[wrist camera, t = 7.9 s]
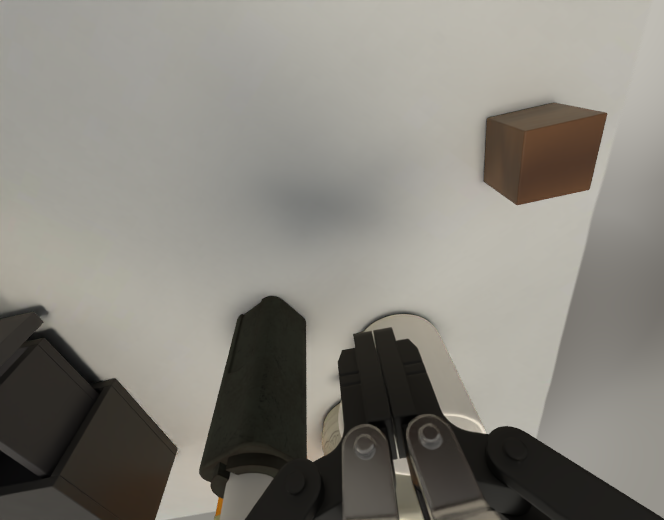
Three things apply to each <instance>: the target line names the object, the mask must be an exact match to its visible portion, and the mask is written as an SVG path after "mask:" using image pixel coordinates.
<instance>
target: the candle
mask: <svg viewBox="0 0 664 520" xmlns="http://www.w3.org/2000/svg"><path fill="white" fill-rule="evenodd" d="M298 458H304V459H307V425H306V321H305V319H304V318H303V317H302V316H301V315H300V314H298V313H297V312H296V311H295V310H294V309H292V308H291V307H290V306H289V305H288V304H287V303H285V302H284V301H283V300H282V299H280V298H278V297H274V296H270V297H266V298H264V299H262V302H261V303H260V304H258V305H257V306H256V307H254V308H253V309H252V310H250V311H249V312H247V313H246V314H245V315H243V314H242V315H240V316H239V317H238V319H237V323H236V327H235V331H234V335H233V339H232V343H231V347H230V351H229V355H228V359H227V362H226V366H225V370H224V374H223V378H222V382H221V386H220V390H219V394H218V398H217V402H216V406H215V410H214V414H213V418H212V422H211V426H210V429H209V433H208V437H207V441H206V445H205V449H204V453H203V457H202V461H201V465H200V469H199V474H200V476H201V477H202V478H203V479H205V480H206V481H209V482H211V489H212V491H213V493H215V494H216V495H217V496H218V497H220V498H222V499H223V504H222V509H221V515H220V520H245V518H246V517H247V515H248V514H249V513H250V511H251V510H252V508H253V507H254V505H255V504H256V503H257V501H258V500H259V498H260V497H261V496H262V494H263V493H264V491H265V490H266V488H267V487H268V486H269V484H270V483H271V481H272V480H273V479H274V477H275V476H276V474H277V473H278V471H279V470H280V469H281V468H282V467H283V466H284V465H285V464H286V463H288V462H289V461H291V460H294V459H298Z"/></svg>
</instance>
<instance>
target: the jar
mask: <svg viewBox="0 0 664 520" xmlns="http://www.w3.org/2000/svg"><path fill="white" fill-rule="evenodd" d="M339 406H340V403H339V404H338V405H337V406H335V407H334V408H333V409H332V410H331V411H330V412H329V414H328V415H327V417H326V419H325V421H324V429H323V432H322V449H323V452H324V456H325V455H327V454H329V453H330V452H332V451H333V450H334V449H335V448H336V447H337V445H338V444H339V442H340V441H341V439H342V438H341V434H340V431H339V424H338V413H339ZM395 475H396V482H397V485H396V495H397V503H398V510H399V518H400V520H423V519H422V516H421V513H420V510H419V506H418V503H417V500H416V497H415V494H414V490H413V487H412V483H411V476H410V475H400V474H396V473H395Z"/></svg>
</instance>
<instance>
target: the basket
mask: <svg viewBox="0 0 664 520" xmlns="http://www.w3.org/2000/svg"><path fill="white" fill-rule="evenodd" d="M42 323H43V321H42V320H41V319H40V317H39V316H38V315H37V314H36V313H35V312H30V313H25V314H21V315H16V316H11V317H7V318H2V319H0V487H1V486H7V485H12V484H17V483H23V482H28V481H33V480H39V479H44V478H49V477H51V475H52V473H53V471H54V470H55V468H56V466H57V465H58V463H59V461H60V460H61V458H62V456H63V455H64V453H65V451H66V450H67V448H68V446H69V445H70V443H71V441H72V440H73V438H74V436H75V435H76V433H77V431H78V430H79V428H80V426H81V425H82V423H83V421H84V420H85V418H86V416H87V415H88V413H89V411H90V410H91V408H92V407H93V405H94V403H95V402H96V400H97V398H98V397H99V394H98V393H97V392H96V391H95V390H94V389H93V388H92V387H91V386H90V384H89V383H88V382H87V381H86V380H85V379H84V378H83V377H82V376H81V375H80V374H79V373H78V372H77V371H76V370H75V369H74V368H73V367H72V366H71V365H70V364H69V363H68V362H67V361H66V360H65V359H64V358H63V357H62V355H61V354H60V353H59V352H58V351H57V350H56V349H55V348H54V347H53V346H52V345H51V344H50V343H49V342H48V341H47V340H46V339H45V338H40V339H35V340H31V341H26V340H27V339H28V338H29V337H30V336H31V335H32V334H33V333H34V332H35V331H36V330H37V329H38V327H39V326H40V325H41V324H42ZM25 341H26V342H25Z"/></svg>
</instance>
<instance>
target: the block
mask: <svg viewBox="0 0 664 520" xmlns="http://www.w3.org/2000/svg"><path fill="white" fill-rule="evenodd" d="M606 117H607V113H605V112H600V111H595V110H590V109H585V108H579V107H574V106H569V105H564V104H559V103H550V104H546V105H542V106H537V107H533V108H529V109H524V110H520V111H515V112H511V113H507V114H502V115H498V116H494V117H489V118H487V128H486V148H485V169H484V182H485V183H486V184H488V185H489V186H491V187H492V188H493V189H495V190H496V191H498V192H499V193H500V194H502V195H503V196H505V197H506V198H507V199H509V200H510V201H512V202H513V203H514V204H516V205H521V204H525V203H530V202H534V201H539V200H544V199H548V198H553V197H558V196H562V195H567V194H572V193H576V192H581V191H586V190H589V189H590V185H591V181H592V177H593V173H594V168H595V164H596V160H597V155H598V151H599V147H600V143H601V138H602V134H603V130H604V125H605V121H606Z"/></svg>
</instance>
